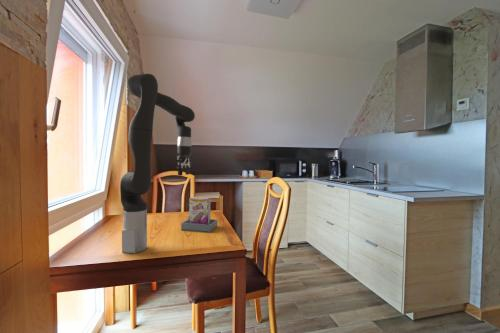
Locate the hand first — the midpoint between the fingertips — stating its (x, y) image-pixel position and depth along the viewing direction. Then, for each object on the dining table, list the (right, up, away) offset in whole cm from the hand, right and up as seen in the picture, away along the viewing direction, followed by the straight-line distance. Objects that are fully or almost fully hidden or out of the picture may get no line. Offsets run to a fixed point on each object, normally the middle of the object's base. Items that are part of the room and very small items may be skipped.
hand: (183, 174), depth 137 cm
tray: (+8, -30, +2) cm, 31 cm away
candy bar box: (+8, -29, +1) cm, 31 cm away
